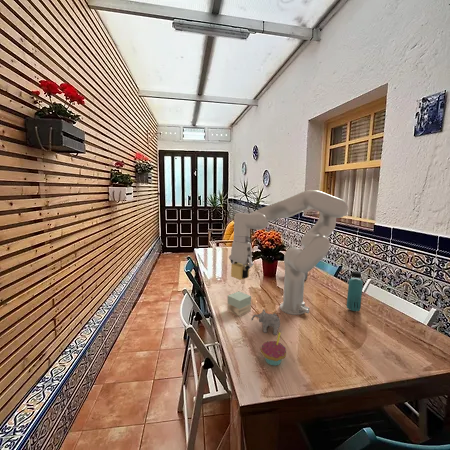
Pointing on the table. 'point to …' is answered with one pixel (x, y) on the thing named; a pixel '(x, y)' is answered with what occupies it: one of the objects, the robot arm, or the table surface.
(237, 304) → the pale green square block
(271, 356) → the cupcake
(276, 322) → the gray elephant figurine
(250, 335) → the table surface
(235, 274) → the block
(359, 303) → the beverage bottle
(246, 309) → the tower base
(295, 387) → the table surface
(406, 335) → the table surface
